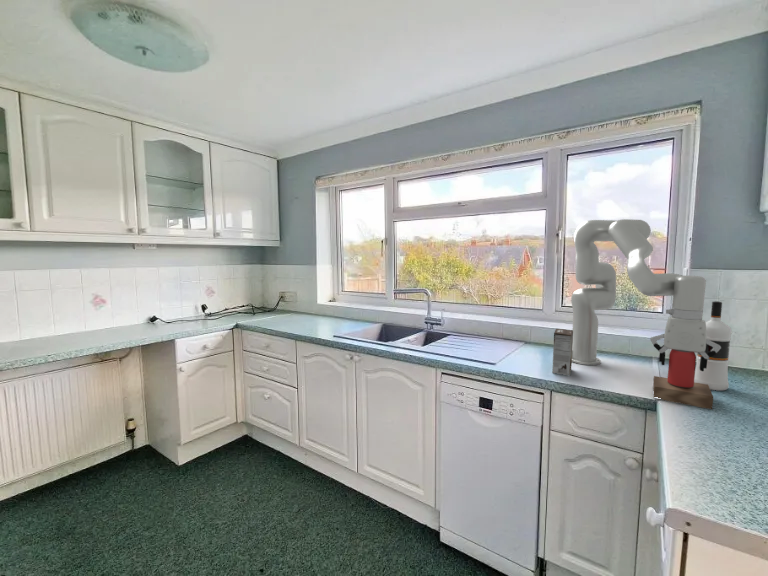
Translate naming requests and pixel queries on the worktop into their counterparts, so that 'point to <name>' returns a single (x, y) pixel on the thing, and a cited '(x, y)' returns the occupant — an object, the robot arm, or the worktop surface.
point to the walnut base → (683, 393)
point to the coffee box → (562, 351)
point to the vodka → (719, 362)
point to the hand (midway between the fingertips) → (681, 367)
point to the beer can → (681, 368)
